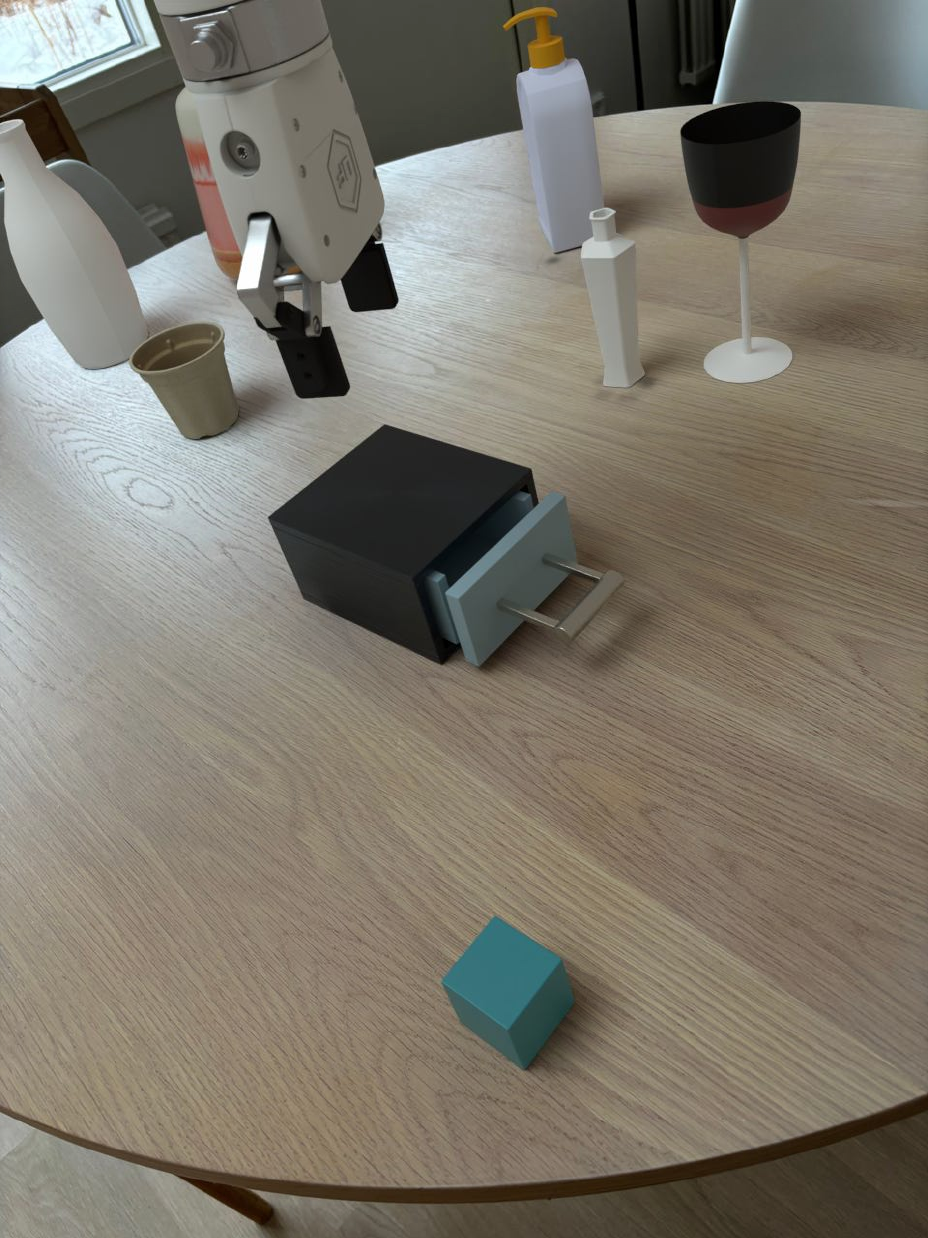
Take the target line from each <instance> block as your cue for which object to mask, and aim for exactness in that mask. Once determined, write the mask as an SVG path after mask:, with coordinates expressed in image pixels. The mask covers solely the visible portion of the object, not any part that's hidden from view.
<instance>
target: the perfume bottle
mask: <svg viewBox="0 0 928 1238" xmlns="http://www.w3.org/2000/svg"><path fill="white" fill-rule="evenodd" d="M616 213H617V212H616V210H614V209H612V208H610V207H604V208H602V209H599V210H595V211H592V212H590V217H589V219H590V220H591V222H592V230H593V237H592V238H590V239H588V240H587V241H585V242H584V243H583V244H582V246H581V250H580V251H581V252H580V261H581V264H582V271H583V274H584V279H585V285H586V289H587V293H588V297H589V298H588V299H589V303H590V306H591V311H592V317H593V320H594V325H595V330H596V333H597V334H596V335H597V340H598V343H599V349H600V353H601V357H602V362H603V369H604V371H603V380H602V386H604V387H608V388H609V387H611V388H623V389H624V388H625V389H626V388H630V387H632V386H633V385H634V384H636V383H637V382H638V381H639V380H640V379H642V378H643V377H644V376H645V375H646V372H645V369H644V368H643V367H644V366H643V365H642V363H641V360H640V348H639V347H640V346H639V318H638V312H639V311H638V284H637V254H636V253H637V252H636V250H637V249H636V241H635V240H634V239H631V238H629V237H626V236H624V235H623V234H620V233H618V232H617V227H616V218H615V215H616Z"/></svg>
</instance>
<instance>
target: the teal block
mask: <svg viewBox="0 0 928 1238" xmlns="http://www.w3.org/2000/svg"><path fill="white" fill-rule="evenodd" d="M440 984H441V986H442V987H443V989H444V991H445V993H446V996H447V998H448V1000H449V1001H450V1003H451V1006H452V1008H453V1010H454V1011H455V1015H456V1016H457V1018H458V1020H459V1022H460V1024H461V1025H463V1026H464V1027H465V1028H467V1029H468V1030H470V1031H471V1032H472V1033H473V1034H475V1035H476V1036H478V1037H479V1038H480V1039H481V1040H483V1041H484V1042H486V1043H487V1044H488V1045H489V1046H491V1047H492V1048H494V1049H495V1050H496V1051H497V1052H498V1053H500V1054H502V1055H503V1056H504V1057H505V1058H507V1059H508V1060H509V1061H511V1062H512V1063H514V1064H515V1065H516V1066H518V1067H519V1068H520V1069H522V1070H523V1071H526V1070H527V1068H528V1067H529V1066H530V1064H531V1063H532V1062H533V1060H534V1059H535V1057H536V1056H537V1055H538V1053H539V1052H540V1051H541V1050H542V1048H543V1047H544V1045H545V1044H546V1042H547V1041H548V1040H549V1039H550V1037H551V1036H552V1034H553V1033H554V1032H555V1031H556V1029H557V1028H558V1027H559V1025H560V1023H562V1021H563V1020H564V1018H565V1017H566V1015H567V1014H568V1012H569V1011H570V1010H571V1009H572V1007H573V1006H574V1004H575V1002H576V999H575V997H574V993H573V989H572V985H571V983H570V980H569V976H568V973H567V970H566V967H565V964H564V961H563V958H562V957H560V956H559V955H557V954H555V953H554V952H553V951H551V950H549V949H548V948H546V947H545V946H543V945H541V944H540V943H539V942H537V941H536V940H534V939H532V938H531V937H530V936H528V935H526V934H525V933H524V932H522V931H520V930H519V929H517V928H516V927H514V926H512V925H511V924H509V923H507V922H506V921H505V920H503V919H502V918H501V917H499V916H497V915H493V917H492V918H491V919H490V920H489V922H488V923H487V924H486V925H485V927H484V928H483V929H482V930H481V931H480V933H479V934H478V935H477V936H476V938H475V939H473V941H472V942H471V944H470V945H469V946H468V947H467V948H466V950H465V951H464V952H463V953H462V955H461V956H460V957H459V959H457V961H456V962H455V963H454V964H453V965H452V967H451V968H450V969H449V971H448V972H447V973H446V974H445V975H444V976H443V978H442V979H441V981H440Z"/></svg>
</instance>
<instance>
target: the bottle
mask: <svg viewBox="0 0 928 1238" xmlns="http://www.w3.org/2000/svg"><path fill="white" fill-rule="evenodd" d="M0 176H1V178H2V181H3V183H4V190H3V191H4V192H3V193H4V195H3V196H4V201H3V202H4V203H3V204H4V205H3V206H4V207H3V208H4V209H3V210H4V213H3V216H4V217H3V223H4V228H5V232H6V238H7V242H8V247H9V252H10V254H11V257H12V260H13V263H14V265H15V267H16V271H17V274H18V275H19V276H18V277H19V278H20V281H21V283H22V284H23V286H24V288H25V289H26V292H27V293H28V294H29V296H30V298H31V299H32V301H33V302H34V304H35V306H36V308H37V310H38V311H39V313H40V314H41V316H42V317H43V319H44V321H45V323H46V324H47V326H48V328H49V330H51V332H52V334H54V336H55V337H56V339H57V340H58V341H59V343H60V344H61V345H62V347H63V348H64V350H65V351H66V352H67V353H68V355H69V356H70V357H71V359H72V360H73V361H74V362H75V364H76V365H78V366H80V367H83V368H84V369H87V370H100V369H107V368H109V367H114V366H117V365H119V364H121V363H124V362H125V361H128V360H129V358H130V356H131V354H132V353H133V352H134V350H135V349H136V348H137V347H138V346H139V345H140V344H142V343H143V342H144V341H146V340H147V339H149V329H148V326H147V324H146V323H147V322H146V320H145V317H144V313H143V309H142V307H141V303H140V300H139V297H138V293H137V291H136V288H135V285H134V283H133V280H132V277H131V275H130V272H129V271H128V269H127V265H126V264H125V261H124V259H123V256H122V253H121V250H120V249H119V246H118V244H117V242H116V241H115V239H114V238H113V236H112V235H111V233H110V231H109V229H108V228H107V227H106V225H105V224H104V222H103V220H102V219H101V218H100V216H99V215H97V213H96V212H95V211H94V210H93V209H92V207H91V206H90V205H89V204H88V203H87V201H86V200H85V199H84V198H83V197H82V196H81V194H80V193H79V192H78V191H77V190H75V189H74V188H73V187H72V186H70V185H69V184H68V183H66V182H65V181H64V180H63V179H61V178H60V177H59V176H58V175H57V174H56V173H54V172H53V171H51V170H50V168H48V167H47V166H46V164H45V162H44V160H43V159H42V156H41V155H40V152H39V151H38V149H37V148H36V146H35V144H34V142H33V140H32V138H31V137H30V135H29V133H28V131H27V129H26V123H25V122H24V120H23V119H20V118H18V119H17V118H16V119H10V120H6V121H3V122H0Z"/></svg>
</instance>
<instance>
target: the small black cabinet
mask: <svg viewBox="0 0 928 1238" xmlns="http://www.w3.org/2000/svg"><path fill="white" fill-rule="evenodd" d="M518 491H522V492H525V493H528V494H530V495H531V498H532V503H533V507H534V508H535V507H536V506H537V505H538V504H539V503H540V501H539V497H538V493H537V487H536V483H535V478H534V475H533V469H532V468H531V467H527V466H525V465H521V464H518V463H515V462H512V461H507V460H504V459H501V458H499V457H495V456H492V455H488V454H485V453H481V452H479V451H476V450H473V449H469V448H465V447H462V446H458V445H455V444H452V443H449V442H446V441H442V440H439V439H435V438H432V437H430V436H429V437H428V436H426V435H423V434H418V433H416V432H412V431H409V430H406V429H402V428H399V427H396V426H393V425H389V424H386V423H383V425H382V426H380V427H379V428H377V429H376V430H375V431H374V432H372V433H371V434H370V435H369V436H368V437H366V438H365V439H364V440H363V441H361V442H360V443H359V444H357V445H356V446H355V447H354V448H353V449H351V450H350V451H348V452H347V453H346V454H344V456H342V457H341V458H340V459H339V460H337V461H336V462H335V463H334V464H332V465H331V466H330V467H329V468H328V469H326V470H325V471H324V472H322V473H321V474H319V476H317V477H316V478H314V479H313V480H312V481H311V482H310V483H309V484H307V485H306V486H305V487H303V488H302V489H301V490H300V491H299V492H297V493H296V494H295V495H293V496H292V497H291V498H289V499H288V500H287V501H286V502H285V503H283V504H282V505H281V506H280V507H279V508H277V509H276V510H275V511H273V512H272V513H271V514H270V515H268V516H267V520H268V522H269V524H270V526H271V528H272V530H273V533H274V535H275V538H276V540H277V542H278V544H279V546H280V549H281V551H282V553H283V555H284V557H285V560H286V562H287V564H288V567H289V569H290V572H291V574H292V575H293V578H294V580H295V582H296V585H297V587H298V589H299V591H300V594H301V596H302V599H303V600H305V601H307V602H309V603H311V604H313V605H316V606H318V607H319V608H322V609H324V610H326V611H328V612H330V613H332V614H334V615H336V616H338V617H341V618H343V619H344V620H347V621H348V622H351V623H353V624H355V625H357V626H359V627H361V628H363V629H364V630H368V631H370V632H372V633H374V634H376V635H378V636H380V637H382V638H384V639H386V640H388V641H391V642H393V643H395V644H396V645H398V646H401V647H403V648H405V649H407V650H409V651H411V652H414V653H415V654H418V655H419V656H422V657H424V658H426V659H428V660H430V661H432V662H433V663H436V664H438V665H440V666H443V664H444V663H445V662H446V661H447V660H448V659H449V658H450V657H451V656H452V655H453V654H454V653H455V652H456V651H458V649H459V648H460V647H462V646H461V643H460V642H459V643H458V644H455V643H453V642H451V641H449V640H446V639H444V638H442V637H441V634H440V631H439V628H438V625H437V622H436V619H435V616H434V613H433V610H432V607H431V604H430V601H429V598H428V594H427V591H426V588H425V585H424V582H423V579H424V578H425V577H427V576H428V575H429V574H430V573H431V572H432V571H433V570H434V569H435V568H436V567H437V566H438V565H439V564H441V563H442V562H443V561H444V560H445V559H446V558H447V557H448V556H449V555H450V554H451V553H452V552H453V551H455V550H456V549H457V548H458V547H459V546H460V545H461V544H462V543H463V542H464V541H465V540H466V539H468V538H469V537H470V536H471V535H472V534H473V533H474V532H475V531H476V530H477V529H478V528H479V527H480V526H482V525H483V524H484V523H485V522H486V521H487V520H488V519H489V518H490V517H491V516H492V515H493V514H494V513H496V512H497V511H498V510H499V509H500V508H501V507H502V506H503V505H504V504H505V503H506V502H507V501H508V500H510V499H511V498H512V497H513V496H514V495H515V494H516V493H517V492H518Z"/></svg>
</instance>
